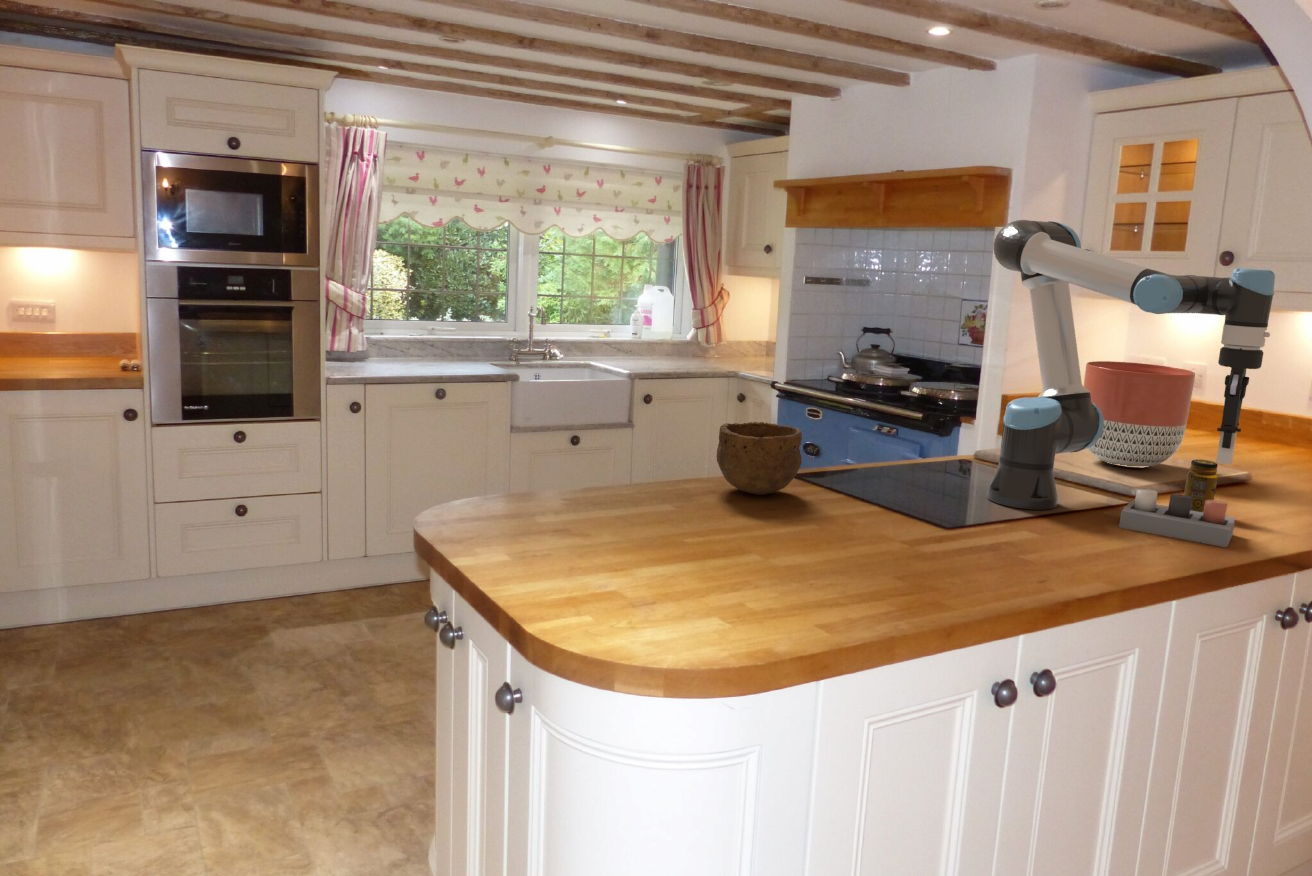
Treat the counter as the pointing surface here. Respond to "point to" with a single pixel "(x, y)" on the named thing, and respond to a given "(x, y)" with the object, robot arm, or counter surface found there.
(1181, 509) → the black button
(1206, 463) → the condiment
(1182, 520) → the button board
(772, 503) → the counter surface
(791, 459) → the bowl
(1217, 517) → the red button
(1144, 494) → the white button
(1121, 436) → the planter
